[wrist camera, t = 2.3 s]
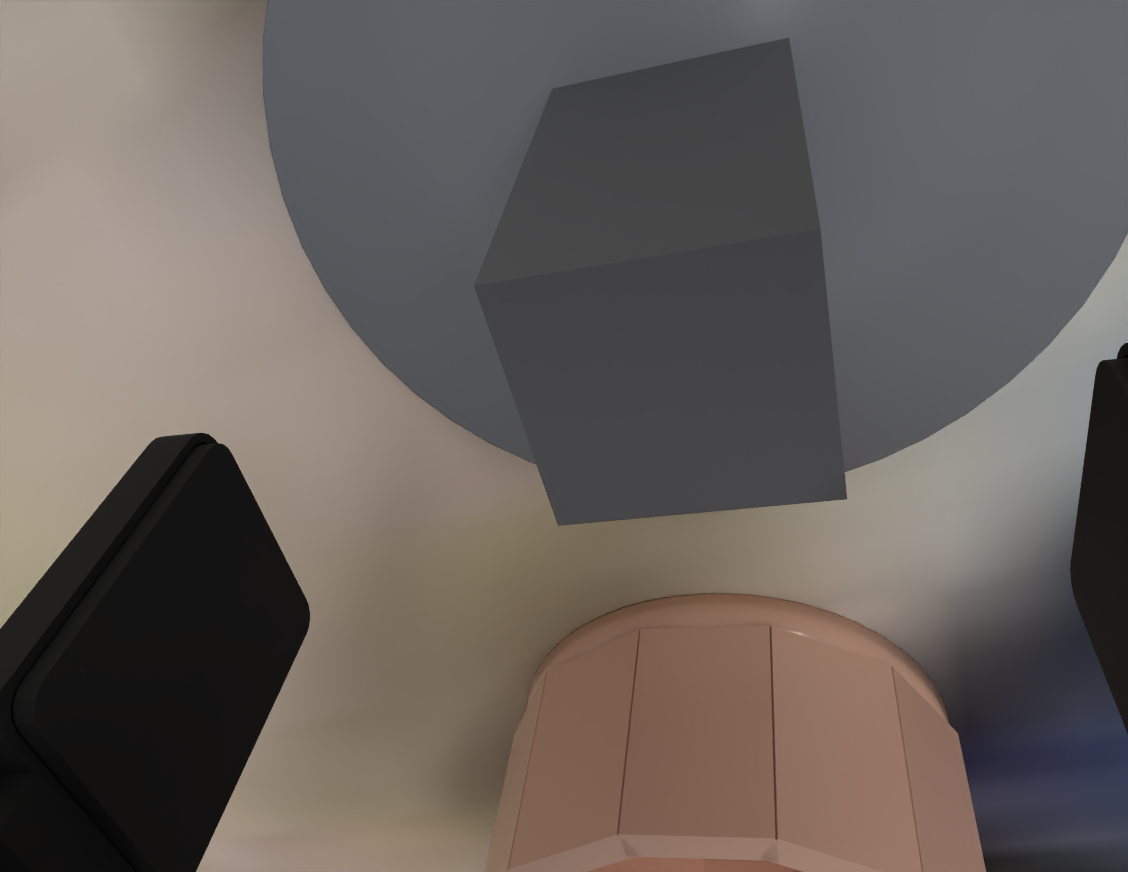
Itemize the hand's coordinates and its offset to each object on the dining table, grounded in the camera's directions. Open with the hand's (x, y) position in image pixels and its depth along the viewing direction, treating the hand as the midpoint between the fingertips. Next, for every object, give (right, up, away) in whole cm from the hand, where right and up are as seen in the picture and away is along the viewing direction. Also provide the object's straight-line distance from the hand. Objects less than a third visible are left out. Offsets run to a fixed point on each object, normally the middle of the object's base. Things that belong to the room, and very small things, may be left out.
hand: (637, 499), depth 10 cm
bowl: (+4, -7, +15) cm, 17 cm away
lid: (+1, +5, +5) cm, 8 cm away
